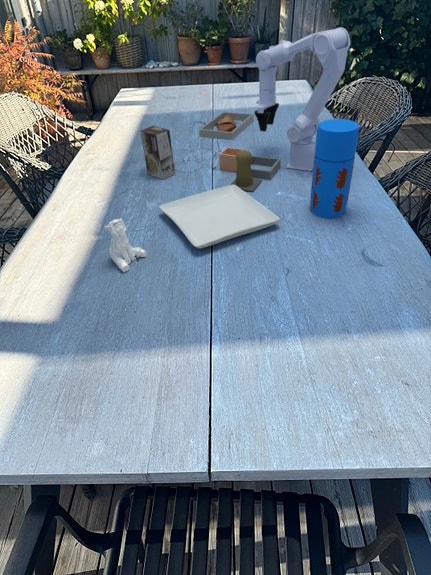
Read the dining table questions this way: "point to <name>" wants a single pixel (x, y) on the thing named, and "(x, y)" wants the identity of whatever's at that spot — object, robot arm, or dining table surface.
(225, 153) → the terracotta pot
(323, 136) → the thermos
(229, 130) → the sunglasses case
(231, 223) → the square plate
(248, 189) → the dark grey rubber mat
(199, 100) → the dining table surface
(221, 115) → the dark grey tray
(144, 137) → the coffee box
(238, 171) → the cork
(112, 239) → the sitting furry creature
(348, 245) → the dining table surface
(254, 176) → the grey rectangular frame
